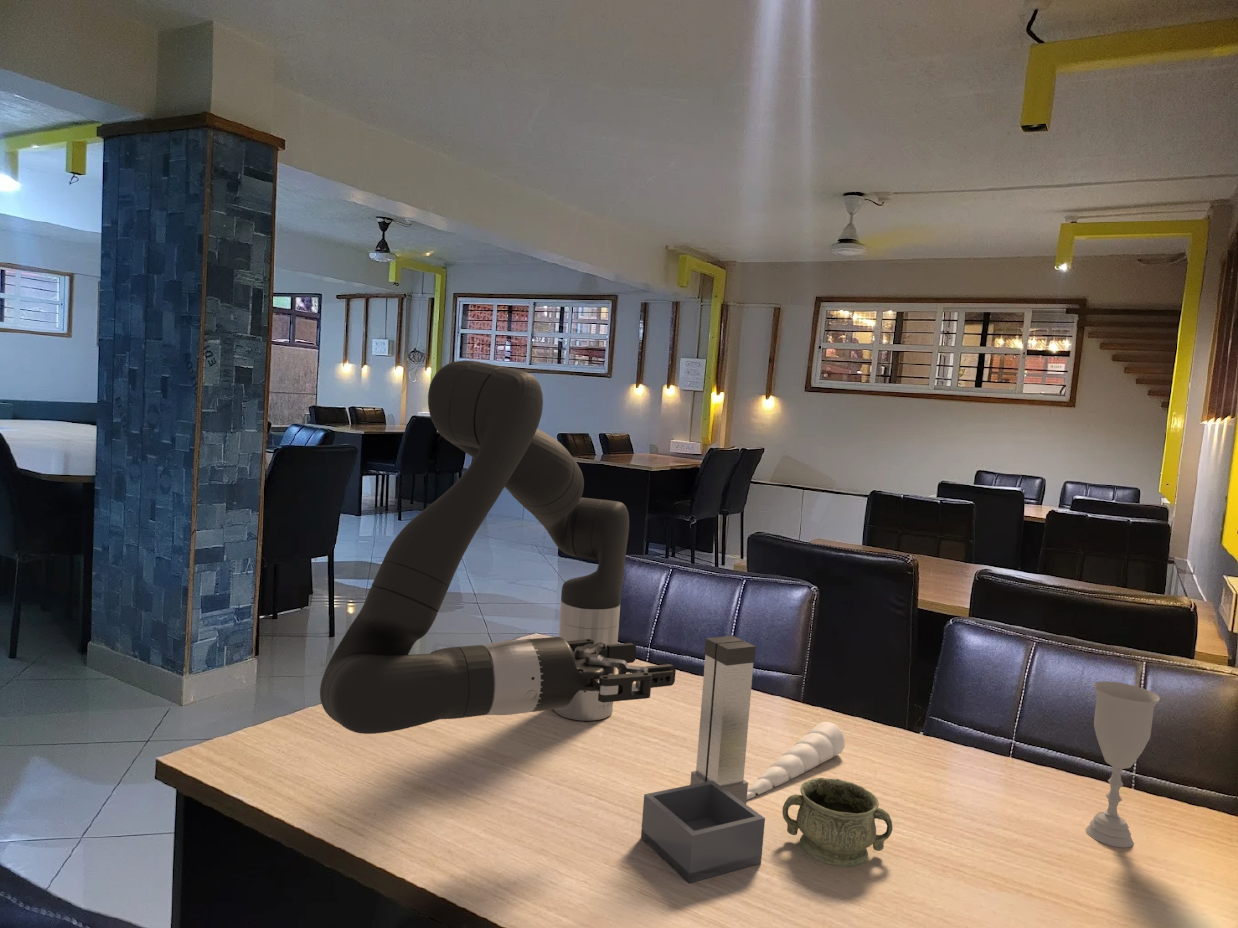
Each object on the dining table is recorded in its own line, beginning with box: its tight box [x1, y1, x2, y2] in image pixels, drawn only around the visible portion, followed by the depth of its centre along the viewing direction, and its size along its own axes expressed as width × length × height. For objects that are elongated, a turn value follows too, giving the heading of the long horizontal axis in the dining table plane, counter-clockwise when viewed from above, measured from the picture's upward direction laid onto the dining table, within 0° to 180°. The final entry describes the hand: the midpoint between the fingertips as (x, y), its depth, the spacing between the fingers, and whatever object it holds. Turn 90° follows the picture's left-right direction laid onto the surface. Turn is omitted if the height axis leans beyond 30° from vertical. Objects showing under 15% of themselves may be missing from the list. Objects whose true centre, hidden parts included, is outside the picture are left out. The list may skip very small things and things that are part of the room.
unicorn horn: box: [747, 721, 846, 800], centre depth 110 cm, size 5×24×5 cm, turn 135°
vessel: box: [781, 777, 893, 867], centre depth 92 cm, size 12×9×6 cm
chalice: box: [1085, 680, 1161, 848], centre depth 98 cm, size 7×7×18 cm
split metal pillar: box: [689, 635, 757, 805], centre depth 100 cm, size 5×5×20 cm
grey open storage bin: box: [640, 780, 766, 884], centre depth 89 cm, size 9×9×5 cm
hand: (653, 662), depth 94 cm, fingers open, 8 cm apart
